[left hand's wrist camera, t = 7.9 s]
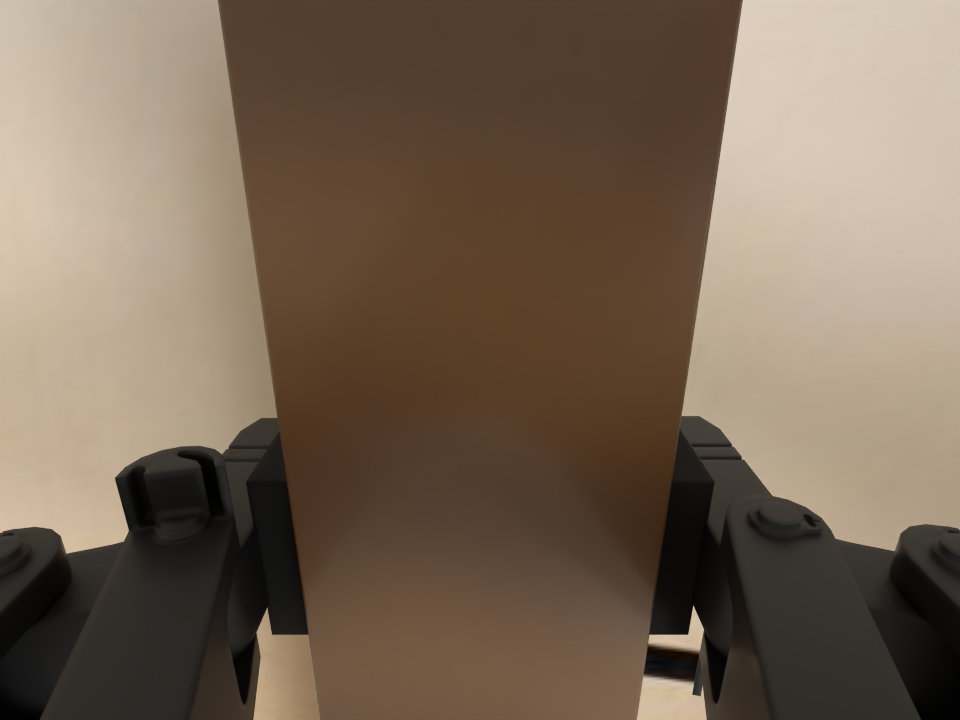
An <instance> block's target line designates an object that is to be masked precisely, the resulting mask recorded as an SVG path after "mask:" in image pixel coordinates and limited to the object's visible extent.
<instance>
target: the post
mask: <svg viewBox="0 0 960 720" xmlns="http://www.w3.org/2000/svg"><path fill="white" fill-rule="evenodd" d="M742 1H743V0H218V4H219V11H220V18H221V25H222V32H223V39H224V46H225V53H226V60H227V67H228V74H229V81H230V88H231V95H232V102H233V109H234V116H235V123H236V130H237V137H238V144H239V151H240V158H241V165H242V172H243V179H244V186H245V193H246V200H247V207H248V214H249V221H250V228H251V235H252V242H253V249H254V256H255V263H256V270H257V277H258V284H259V291H260V298H261V305H262V312H263V319H264V326H265V333H266V340H267V347H268V354H269V361H270V368H271V375H272V382H273V389H274V396H275V403H276V410H277V417H278V424H279V431H280V438H281V445H282V452H283V459H284V466H285V473H286V480H287V487H288V494H289V501H290V508H291V515H292V522H293V529H294V536H295V543H296V550H297V557H298V564H299V571H300V578H301V585H302V592H303V599H304V606H305V613H306V620H307V627H308V634H309V641H310V648H311V655H312V662H313V669H314V676H315V683H316V690H317V697H318V704H319V711H320V718H321V720H637V714H638V708H639V701H640V694H641V687H642V680H643V674H644V667H645V660H646V653H647V646H648V640H649V633H650V626H651V619H652V613H653V606H654V599H655V592H656V585H657V579H658V572H659V565H660V558H661V551H662V545H663V538H664V531H665V524H666V517H667V511H668V504H669V497H670V490H671V483H672V477H673V470H674V463H675V456H676V450H677V443H678V436H679V429H680V422H681V416H682V409H683V402H684V395H685V388H686V382H687V375H688V368H689V361H690V354H691V348H692V341H693V334H694V327H695V321H696V314H697V307H698V300H699V293H700V287H701V280H702V273H703V266H704V259H705V253H706V246H707V239H708V232H709V225H710V219H711V212H712V205H713V198H714V192H715V185H716V178H717V171H718V164H719V158H720V151H721V144H722V137H723V130H724V124H725V117H726V110H727V103H728V96H729V90H730V83H731V76H732V69H733V62H734V56H735V49H736V42H737V35H738V29H739V22H740V15H741V8H742Z"/></svg>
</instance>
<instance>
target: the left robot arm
mask: <svg viewBox="0 0 960 720" xmlns="http://www.w3.org/2000/svg"><path fill="white" fill-rule="evenodd" d="M115 480H116V484H117V488H118V491H119V495H120V499H121V502H122V506H123V510H124V514H125V517H126V521H127V525H128V528H129V532H128V534H127V536H126V539H125V541H124V542H121V543H117V544H113V545H109V546H104V547H99V548H94V549H89V550H84V551H79V552H73V553H68V554H66V551H65V548H64V545H63V542H62V539H61V536H60V535H58V534H57V533H56V532H55V531H53V530H52V529H46V528H39V527H31V528H22V529H12V530H8V531H3V533H0V720H253V717H254V709H255V700H256V691H257V683H258V674H259V665H260V650H259V644H258V639H257V633H256V632H257V630H258V627H259V625H260V623H261V620H262V618H263V616H264V614H265V611H266V609H267V607H268V613H269V619H270V624H271V630H272V635H309V634H308V627H307V620H306V613H305V606H304V599H303V592H302V585H301V578H300V571H299V564H298V557H297V550H296V543H295V536H294V529H293V522H292V515H291V508H290V501H289V494H288V487H287V480H286V473H285V466H284V459H283V452H282V445H281V438H280V431H279V424H278V418H261V419H259V420H258V421H256V422H255V423H253V424H251V425H250V426H248V427H247V428H245V429H243V430H242V431H240V433H239V434H238V435H237V437H236V438H235V439H234V440H233V442H232V443H231V444H230V446H229V449H226V451H225V452H224V453H223V455H222V454H220V453H219V452H218V451H216V450H215V449H211V448H207V447H202V446H185V447H177V448H172V449H167V450H162V451H159V452H156V453H153V454H150V455H148V456H145V457H142V458H140V459H139V460H137V461H135V462H133V463H132V464H130V465H128V466H127V467H125V468H124V469H123V470H122V471H121V472H120V473H119V474H118V476H117V477H116V478H115ZM693 605H694V608H695V610H696V612H697V614H698V617H699V619H700V621H701V623H702V626H703V628H704V633H703V639H702V644H701V649H700V655H699V660H698V665H697V671H696V676H695V681H694V688H693V695H697V696H701V691H702V686H703V690H704V699H705V707H706V716H707V720H960V530H959V529H957V528H952V527H947V526H936V525H927V524H925V525H918V526H911V527H909V528H907V529H906V530H905V531H903V532H902V533H901V534H900V537H899V541H898V544H897V547H896V550H895V551H890V550H885V549H880V548H875V547H870V546H865V545H860V544H855V543H850V542H846V541H842V540H838V539H835V537H834V535H833V533H832V531H831V530H830V528H829V527H828V526H827V524H826V523H825V522H824V521H823V519H822V518H821V517H819V516H818V515H816V514H815V513H813V512H812V511H810V510H809V509H808V508H806V507H804V506H801V505H799V504H797V503H794V502H792V501H790V500H787V499H783V498H778V497H774V496H772V495H771V494H770V492H769V491H768V490H767V488H766V487H765V486H764V485H763V483H762V482H761V481H760V480H759V478H758V477H757V476H756V474H755V473H754V472H753V471H752V469H751V468H750V467H749V466H748V464H747V463H746V462H745V460H742V457H741V455H740V454H739V453H738V452H737V450H736V449H735V448H734V447H732V444H731V443H730V441H729V440H728V439H727V438H726V436H725V435H724V434H723V432H722V431H721V430H720V429H719V428H717V427H716V426H714V425H712V424H711V423H709V422H708V421H706V420H704V419H703V418H701V417H699V416H681V422H680V429H679V436H678V443H677V450H676V456H675V463H674V470H673V477H672V483H671V490H670V497H669V504H668V511H667V517H666V524H665V531H664V538H663V545H662V551H661V558H660V565H659V572H658V579H657V585H656V592H655V599H654V606H653V613H652V619H651V626H650V633H649V635H688V632H689V627H690V621H691V615H692V609H693Z"/></svg>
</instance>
